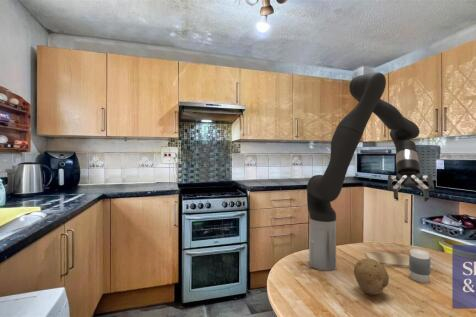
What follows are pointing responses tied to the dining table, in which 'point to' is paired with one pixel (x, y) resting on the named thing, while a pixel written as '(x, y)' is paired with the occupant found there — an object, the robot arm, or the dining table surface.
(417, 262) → the grey banded cylinder
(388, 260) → the oak board
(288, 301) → the dining table surface
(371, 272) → the natural sponge
